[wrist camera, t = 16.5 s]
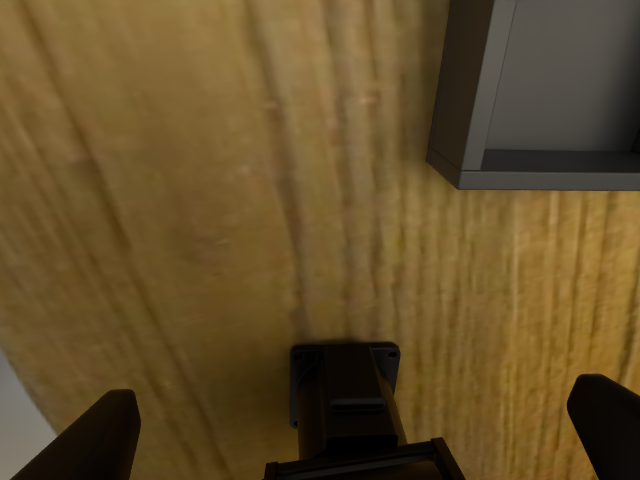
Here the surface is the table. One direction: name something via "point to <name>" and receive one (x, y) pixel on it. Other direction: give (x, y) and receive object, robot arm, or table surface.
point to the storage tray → (539, 96)
